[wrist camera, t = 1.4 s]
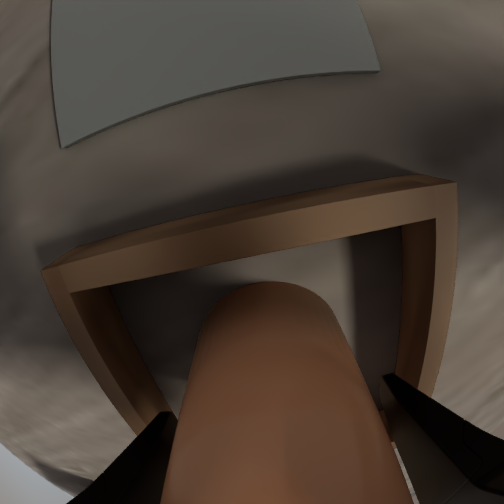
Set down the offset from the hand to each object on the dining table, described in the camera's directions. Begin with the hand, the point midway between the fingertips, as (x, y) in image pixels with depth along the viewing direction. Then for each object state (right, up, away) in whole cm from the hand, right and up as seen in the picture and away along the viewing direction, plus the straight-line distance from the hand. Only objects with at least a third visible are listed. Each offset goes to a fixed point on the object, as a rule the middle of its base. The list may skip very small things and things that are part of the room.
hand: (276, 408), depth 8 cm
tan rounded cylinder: (0, +1, +3) cm, 4 cm away
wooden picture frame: (0, 0, +4) cm, 4 cm away
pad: (-3, +15, -1) cm, 15 cm away
